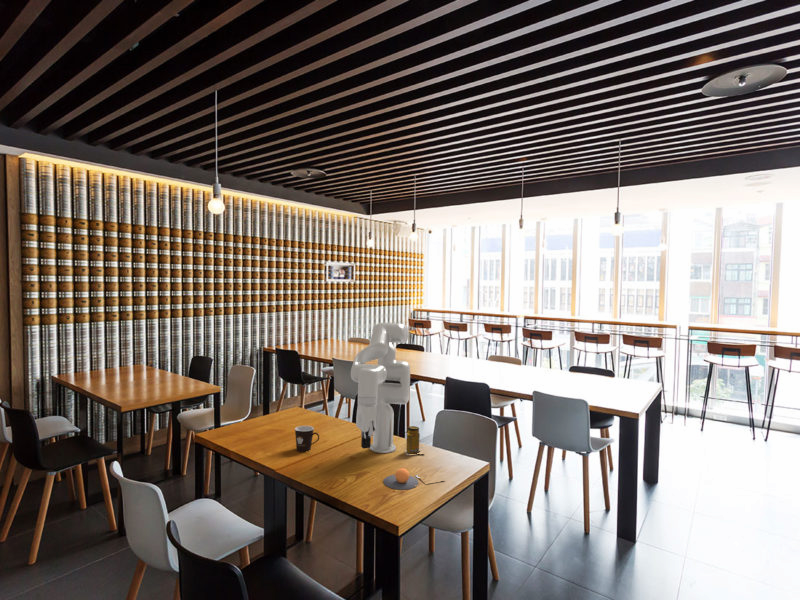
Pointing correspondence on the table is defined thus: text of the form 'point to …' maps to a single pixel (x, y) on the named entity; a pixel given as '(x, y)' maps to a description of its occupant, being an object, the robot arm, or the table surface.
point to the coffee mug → (304, 438)
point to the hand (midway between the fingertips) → (365, 447)
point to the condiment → (412, 440)
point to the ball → (402, 475)
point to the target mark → (394, 484)
